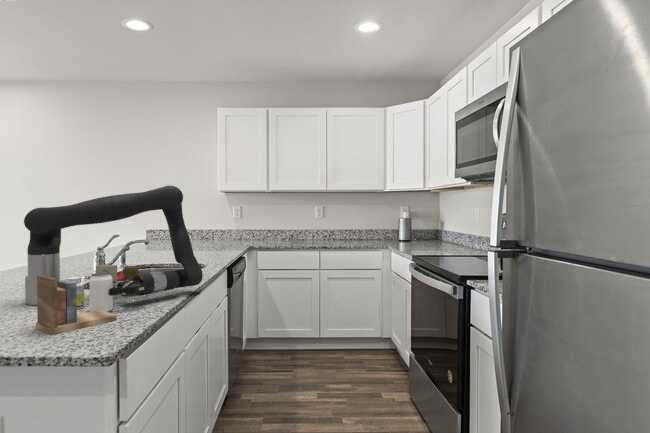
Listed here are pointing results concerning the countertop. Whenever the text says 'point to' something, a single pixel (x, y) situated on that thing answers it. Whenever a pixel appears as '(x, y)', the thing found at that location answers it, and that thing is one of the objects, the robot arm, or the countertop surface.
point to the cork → (129, 275)
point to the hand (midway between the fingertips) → (102, 290)
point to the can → (101, 292)
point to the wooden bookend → (63, 307)
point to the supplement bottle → (78, 291)
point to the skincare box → (108, 269)
